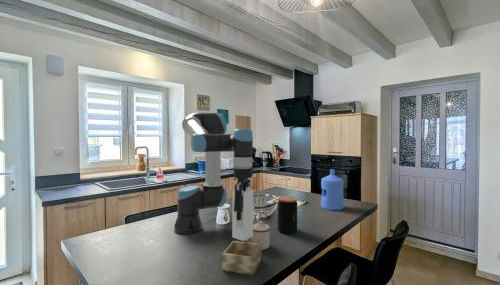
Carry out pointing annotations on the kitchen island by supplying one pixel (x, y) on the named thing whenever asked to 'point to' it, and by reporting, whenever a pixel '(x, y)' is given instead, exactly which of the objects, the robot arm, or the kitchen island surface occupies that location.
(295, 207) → the coffee jar
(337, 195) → the water jug
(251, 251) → the holder
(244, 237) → the milk
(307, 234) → the kitchen island surface
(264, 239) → the teacup with lid
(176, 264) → the kitchen island surface
